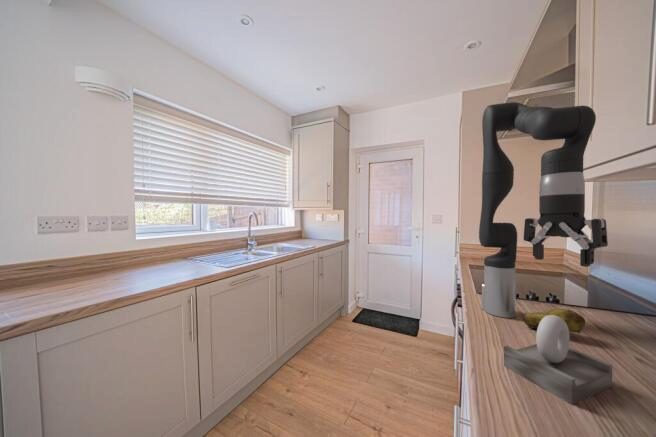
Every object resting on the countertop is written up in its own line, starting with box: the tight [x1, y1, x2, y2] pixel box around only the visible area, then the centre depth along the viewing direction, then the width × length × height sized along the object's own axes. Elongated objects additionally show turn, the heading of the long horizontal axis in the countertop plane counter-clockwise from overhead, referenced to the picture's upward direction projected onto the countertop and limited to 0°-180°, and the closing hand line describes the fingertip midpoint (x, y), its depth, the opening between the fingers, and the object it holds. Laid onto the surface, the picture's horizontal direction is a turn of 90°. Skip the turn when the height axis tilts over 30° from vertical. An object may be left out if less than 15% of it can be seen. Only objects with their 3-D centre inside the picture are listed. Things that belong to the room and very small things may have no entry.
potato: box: [523, 308, 586, 334], centre depth 70 cm, size 8×13×8 cm, turn 27°
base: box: [503, 343, 613, 405], centre depth 51 cm, size 12×14×4 cm
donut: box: [535, 315, 571, 363], centre depth 51 cm, size 10×4×10 cm, turn 119°
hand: (560, 262), depth 55 cm, fingers open, 8 cm apart
